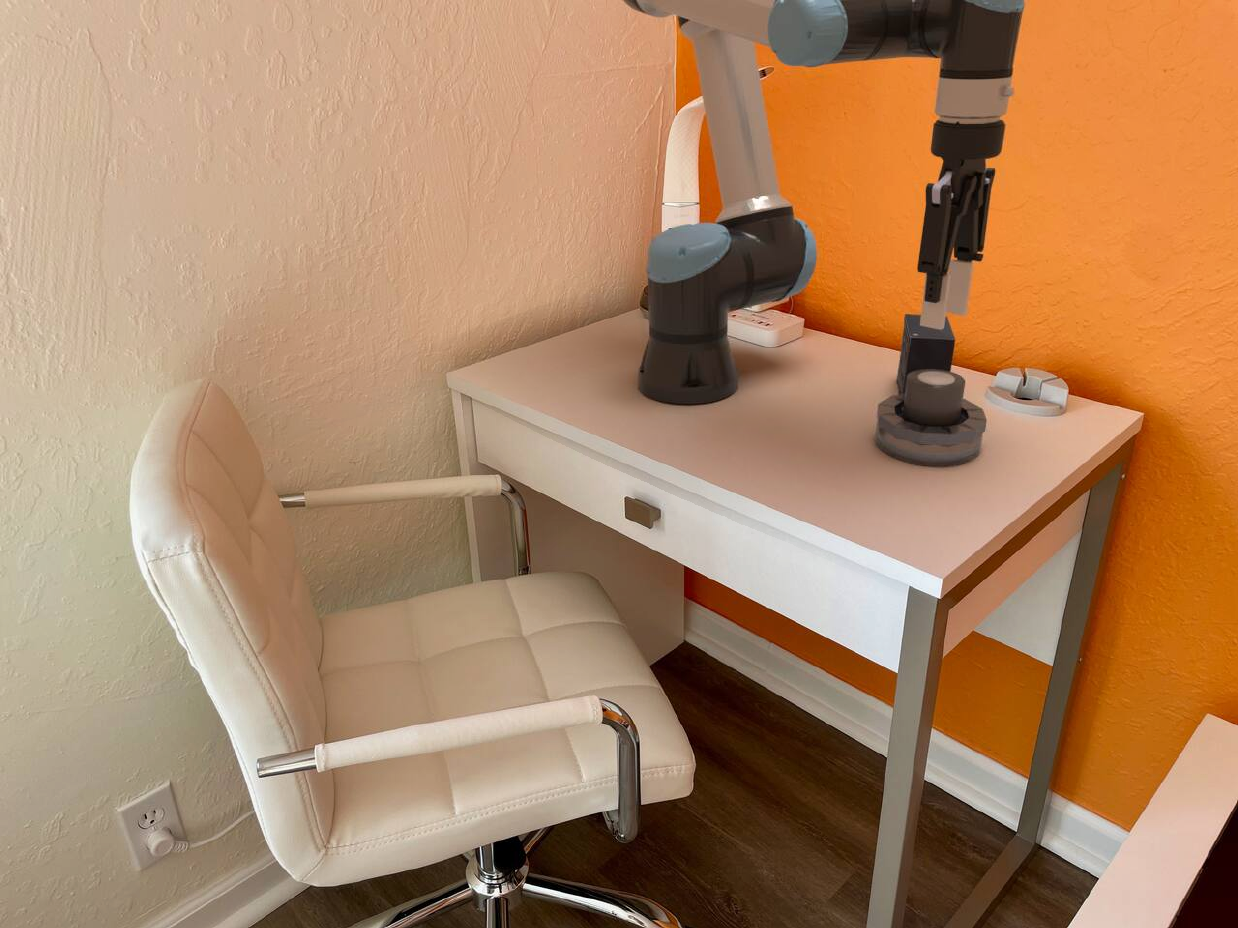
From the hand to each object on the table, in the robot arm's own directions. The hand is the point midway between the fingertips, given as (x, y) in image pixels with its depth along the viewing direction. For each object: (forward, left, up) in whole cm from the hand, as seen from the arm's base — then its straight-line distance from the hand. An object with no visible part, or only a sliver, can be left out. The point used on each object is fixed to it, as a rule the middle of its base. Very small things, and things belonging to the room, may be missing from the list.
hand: (943, 319), depth 112 cm
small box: (-8, +15, -17) cm, 24 cm away
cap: (0, 0, -14) cm, 14 cm away
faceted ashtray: (0, 0, -17) cm, 17 cm away
